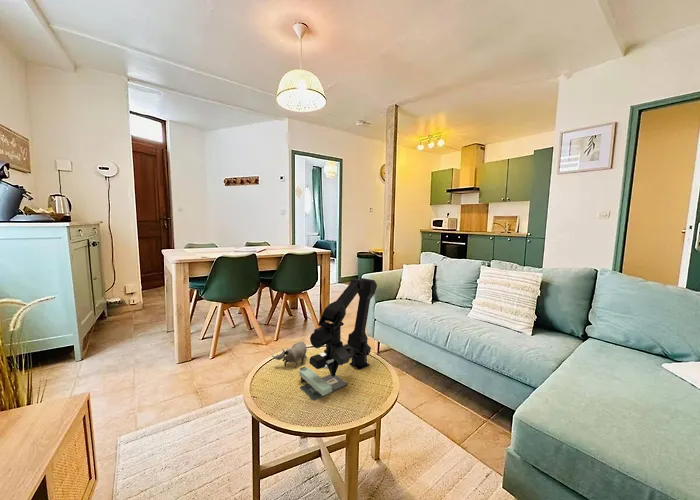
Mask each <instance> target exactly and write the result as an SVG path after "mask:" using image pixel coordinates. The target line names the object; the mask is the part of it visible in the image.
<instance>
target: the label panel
mask: <svg viewBox="0 0 700 500" xmlns="http://www.w3.org/2000/svg"><path fill="white" fill-rule="evenodd" d="M321 378H322V379H323V380H324V381H326V382H327V383H328V384H329V385H331V386H332V392H330V393H328V394H326V395H324V396H323V395H321V394H320V393H319V392H318V391H317V390H316V389H315V388H313V387H312V386H311V385H310V384H309V383H308V382H307V383H305V384H304V385H301V386H299V389H300V390H301V391H302V392H303V393H305V394H306V395H307V397H309V398H310V399H311V400H312V401H313V402H314V401H317V400H319V399H321V398H323V397H326V396H327V395H331V394H332V393H334V392H337V391H338V390H341V389H343V388H345V387H347V386H349V383H348V382H346V381H345V380H343V379H342V378H341V377H339V376H338V375H337V374H335V376H334V377H332V376H331V373H329V374H327V375H325V376H322V377H321ZM300 381H301V382H303V383H304V382H306V381H305V380H304V379H303V378H302V377H301V376H300Z"/></svg>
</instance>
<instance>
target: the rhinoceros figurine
mask: <svg viewBox="0 0 700 500" xmlns="http://www.w3.org/2000/svg"><path fill="white" fill-rule="evenodd" d="M307 349H308V348H307V344H306V343H305V342H304V341H302V340H300V341H297V342H296V343H295V344H293V345H292V347H291V348H287V349H285V350H284V348H282V349H281V350H282V352H281V353H280V354H276V355H275V356H274V355H273V354H271V357H272V358H274V359H275V360H276V361H280V360H282V362H283V363H284V367H287V363H295V369H298V367H299V365H298V360H301V362H300V363H301V365H305V364H306V363H305V359H307V354H306V353H307V351H308V350H307Z"/></svg>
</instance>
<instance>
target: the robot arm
mask: <svg viewBox="0 0 700 500" xmlns="http://www.w3.org/2000/svg"><path fill="white" fill-rule="evenodd" d="M377 287H378V283H377V282H376V280H375V279H370V278H364V277H362V278H360V279H358V278H352V279H350V282H349V284H348V286H347V287H346V288H345V289H344V290H343V292H342V293H341V294H340V296H339V297H338V299H336V300H334V301H333V302H331V303H329V304H328V305H327V306H326V307H325V308H324V310H323V312H322V315H321V317H320V319H319V321H318V324H317V326H320V327H317V328H314V329H313V332H312V333H311V335H310V336H309V341H310V344H311V345H312V347H313V348H315V349H320V348H322V347H324V346H325V349H324V350H323V352H324V353H325V354H326V355H325V356H321V354H319V353H317V354H315V355H312V356H310V357H309V359H308V360H309V365H311V366H312V367H314V369H316V370H320V369H324V368H323V367H325V365H327V367H328V372H329V374H331V376H332V377H334V376H335V375H337V370H338V368H339V366H344V365H345V364H348V363H349V365H350V366H352V367H354V368H355V369H357V370H361V369H364V368H366V367H369V366H370V363H369V362H368V356H369V355H370V353H371V351H372V347H371V346H370V345H369V344H368V340H369V339H368V336H367V333H366V328H367V323H368V315H369V309H370V303H371V299H372V298H373V297H374V296H375V294H376V290H377ZM357 295H358V297H359V300H358V305H357V311H356V316H355V323H354V328H353V331H351V333H349V334H348V338H347V341H346V342H347V343H346V344H344V343H343V341H341V339H342V337H341V335H342V334H341V329H342V328H341V327H342V326H344V324H345V323H344V322H343V320H344V318H345V316H346V314H347V311H346V310H347V308H348V306H350V305H351V302H352V301H353V300H354V298H355V297H356V296H357ZM350 359H351V362H350Z"/></svg>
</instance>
